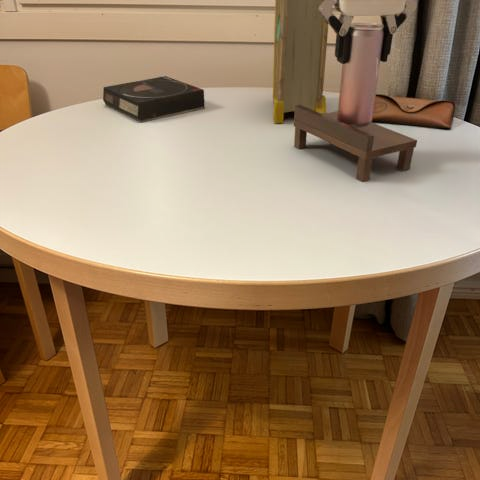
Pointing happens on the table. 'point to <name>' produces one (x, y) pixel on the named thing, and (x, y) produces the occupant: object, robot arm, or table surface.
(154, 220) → the table surface
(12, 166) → the table surface
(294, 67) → the decorative book
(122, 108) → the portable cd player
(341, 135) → the wooden step stool
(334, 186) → the table surface
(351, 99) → the beverage can
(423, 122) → the sunglasses case
